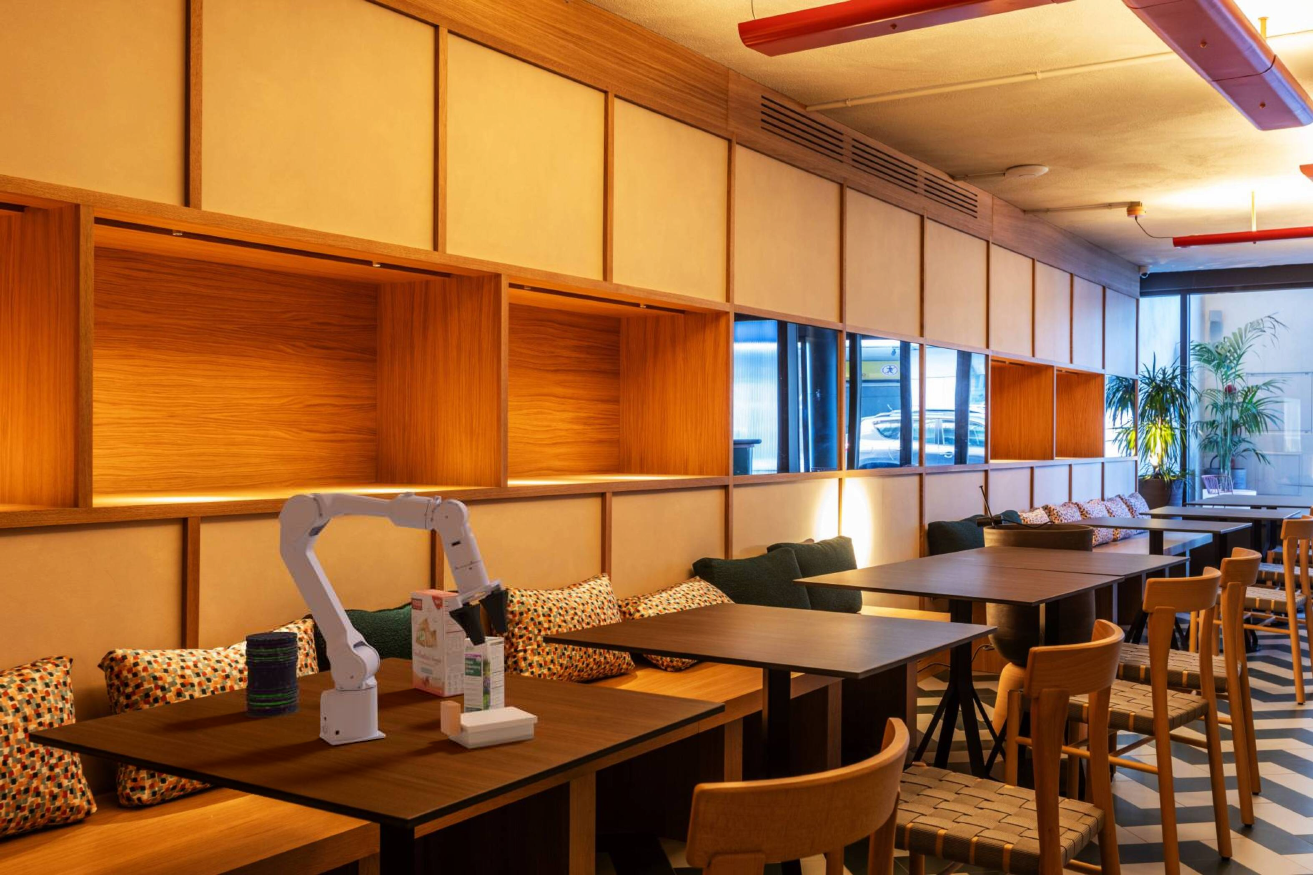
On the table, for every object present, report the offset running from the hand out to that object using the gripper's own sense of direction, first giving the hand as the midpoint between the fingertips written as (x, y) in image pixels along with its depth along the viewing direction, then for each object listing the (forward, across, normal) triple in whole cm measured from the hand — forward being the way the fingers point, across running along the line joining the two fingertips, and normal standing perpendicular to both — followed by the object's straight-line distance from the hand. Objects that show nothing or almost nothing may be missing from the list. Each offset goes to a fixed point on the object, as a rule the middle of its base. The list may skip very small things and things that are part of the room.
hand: (491, 638), depth 201 cm
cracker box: (+11, +27, +36) cm, 47 cm away
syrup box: (+15, +12, +16) cm, 25 cm away
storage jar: (+2, 0, +54) cm, 55 cm away
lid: (+14, -5, +4) cm, 15 cm away
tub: (+16, -4, +4) cm, 17 cm away
